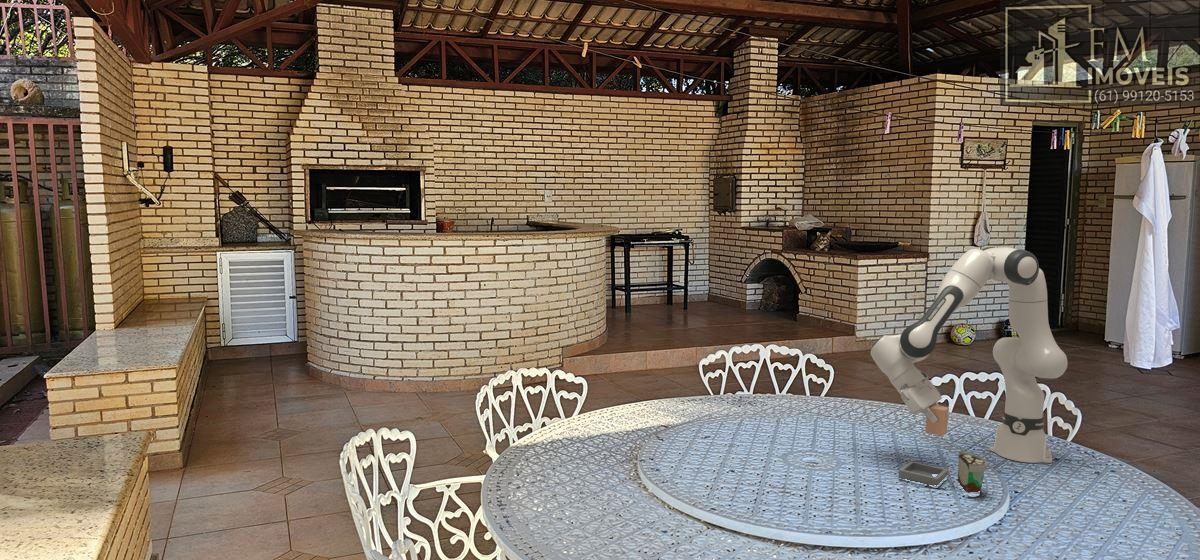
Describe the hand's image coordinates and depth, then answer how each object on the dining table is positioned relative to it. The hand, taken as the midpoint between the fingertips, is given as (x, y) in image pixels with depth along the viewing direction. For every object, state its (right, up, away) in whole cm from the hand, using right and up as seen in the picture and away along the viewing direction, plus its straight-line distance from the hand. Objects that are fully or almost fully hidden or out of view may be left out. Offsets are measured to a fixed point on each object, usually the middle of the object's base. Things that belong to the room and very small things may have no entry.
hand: (939, 419), depth 237 cm
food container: (+3, -19, -15) cm, 24 cm away
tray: (-8, -17, -6) cm, 20 cm away
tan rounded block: (-1, -4, +1) cm, 4 cm away
